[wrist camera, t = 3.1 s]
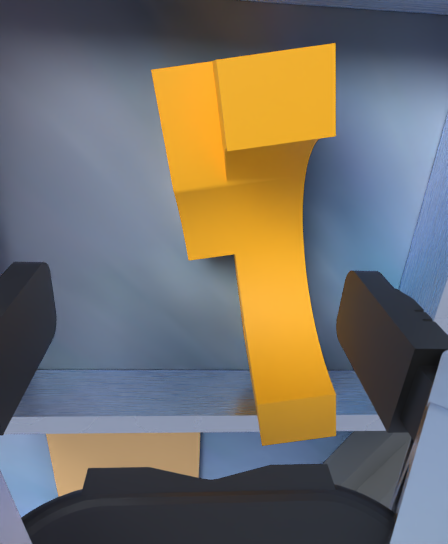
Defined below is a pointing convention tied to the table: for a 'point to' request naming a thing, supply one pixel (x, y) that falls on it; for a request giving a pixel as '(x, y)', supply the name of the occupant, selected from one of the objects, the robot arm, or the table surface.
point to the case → (237, 383)
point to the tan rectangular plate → (120, 454)
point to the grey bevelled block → (370, 463)
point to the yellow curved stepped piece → (257, 210)
